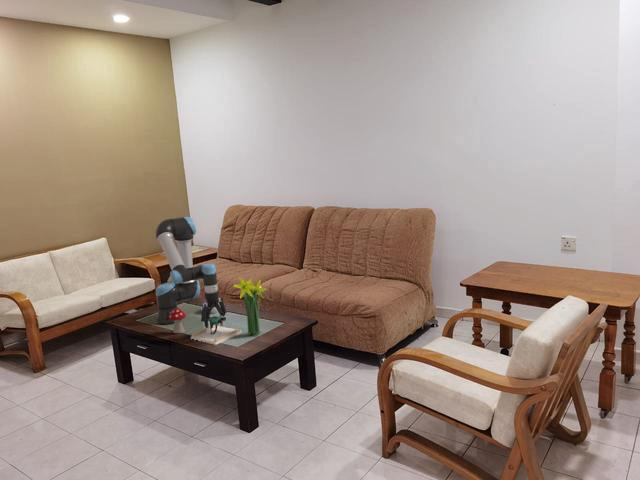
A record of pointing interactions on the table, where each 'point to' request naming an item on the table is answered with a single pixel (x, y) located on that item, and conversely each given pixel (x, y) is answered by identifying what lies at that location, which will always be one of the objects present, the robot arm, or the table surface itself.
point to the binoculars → (215, 322)
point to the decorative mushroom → (177, 320)
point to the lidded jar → (214, 309)
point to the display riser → (215, 335)
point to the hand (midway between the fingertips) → (215, 329)
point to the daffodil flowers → (249, 289)
